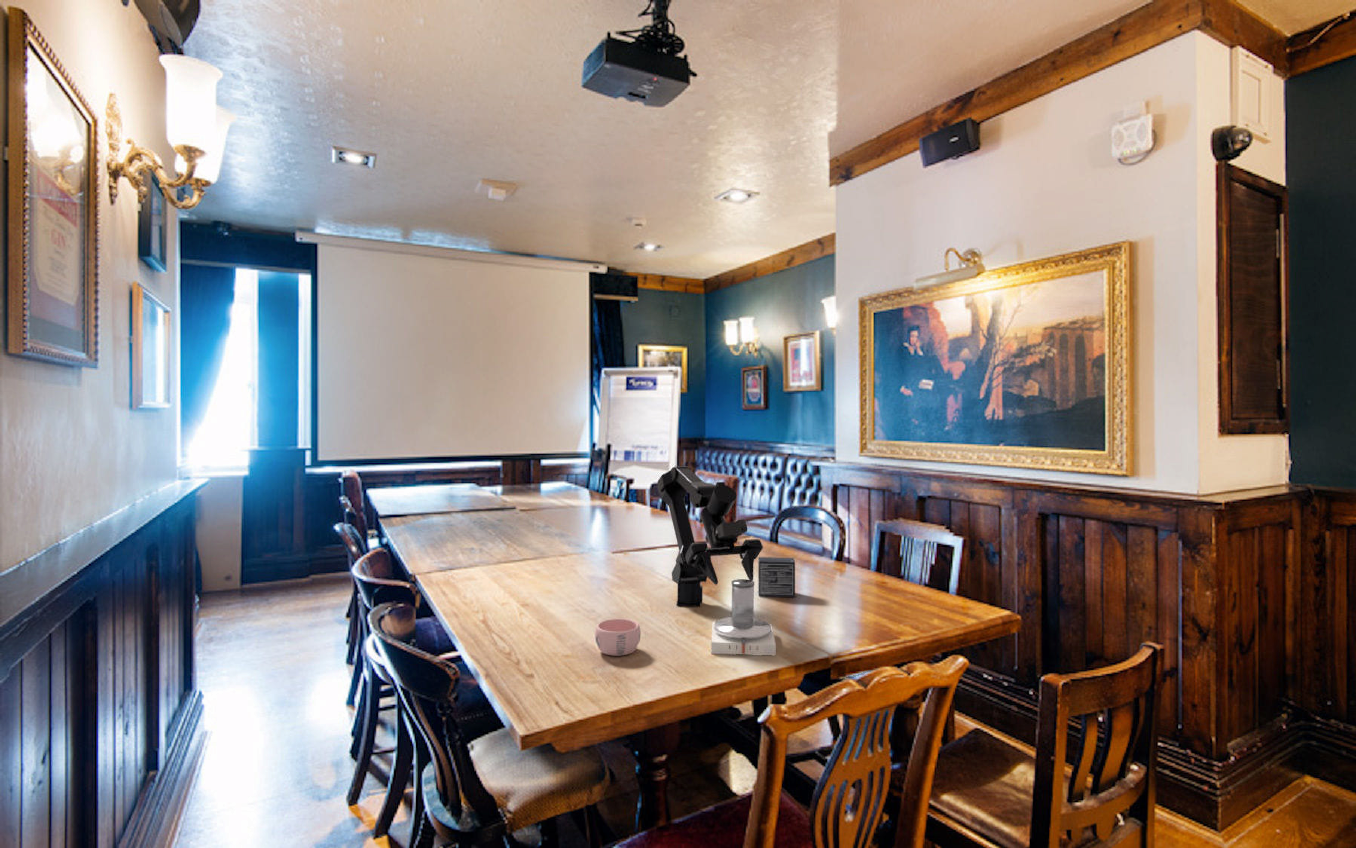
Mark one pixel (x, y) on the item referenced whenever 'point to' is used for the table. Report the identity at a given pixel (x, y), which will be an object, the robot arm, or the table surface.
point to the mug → (617, 636)
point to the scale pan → (742, 630)
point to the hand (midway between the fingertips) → (734, 582)
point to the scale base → (734, 645)
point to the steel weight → (742, 604)
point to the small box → (776, 577)
